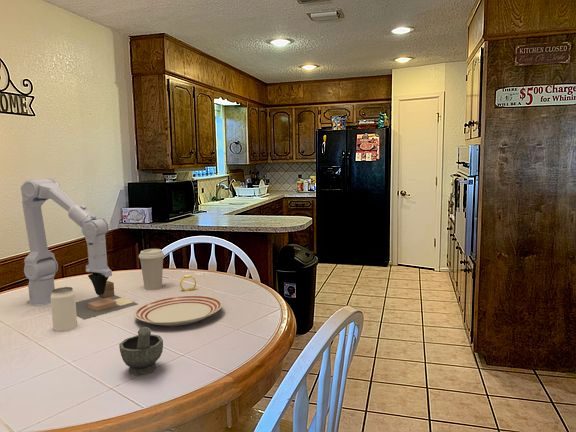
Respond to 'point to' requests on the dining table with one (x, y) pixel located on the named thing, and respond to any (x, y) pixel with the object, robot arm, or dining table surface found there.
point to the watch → (187, 277)
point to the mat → (88, 313)
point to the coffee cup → (152, 268)
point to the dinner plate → (178, 310)
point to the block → (108, 290)
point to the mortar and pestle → (141, 352)
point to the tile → (102, 304)
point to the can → (63, 309)
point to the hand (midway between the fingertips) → (100, 294)
